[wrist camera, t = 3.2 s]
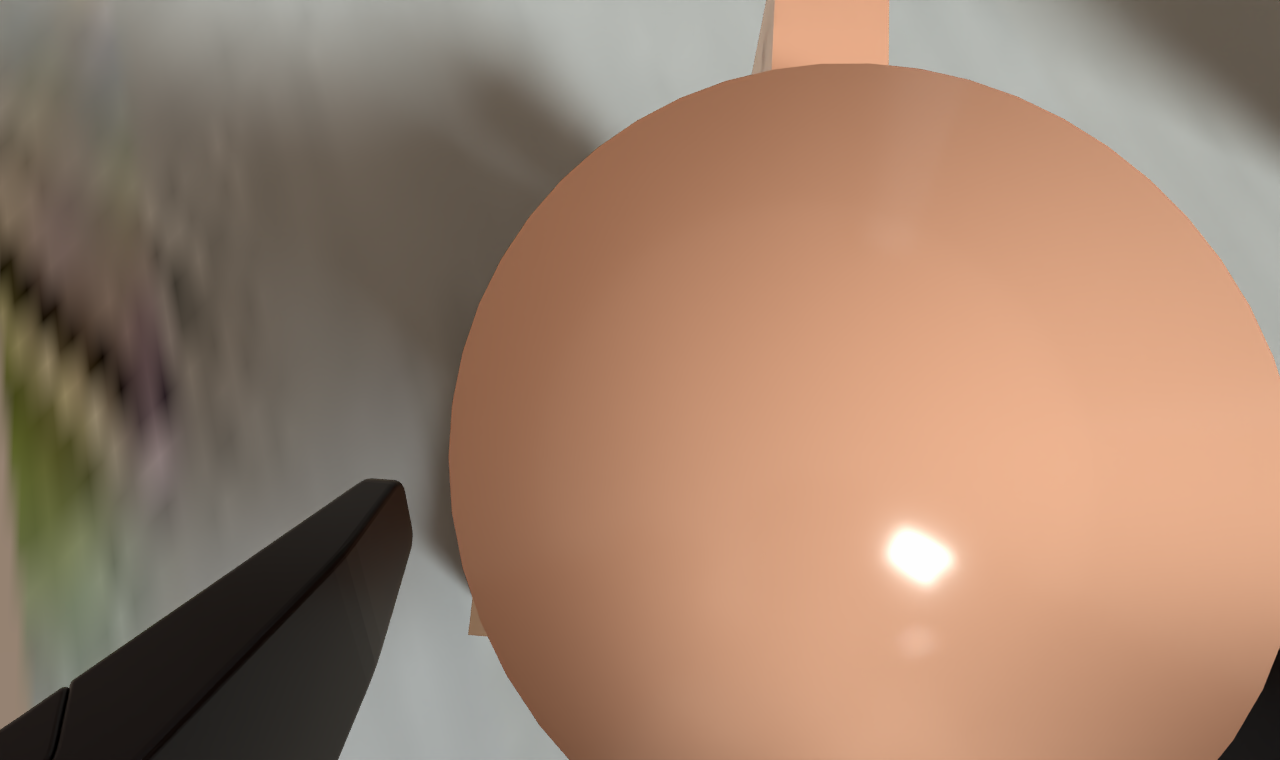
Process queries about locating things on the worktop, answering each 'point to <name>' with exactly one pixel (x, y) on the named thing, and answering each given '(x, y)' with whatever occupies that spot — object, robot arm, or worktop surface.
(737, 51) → the worktop surface
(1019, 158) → the jug
